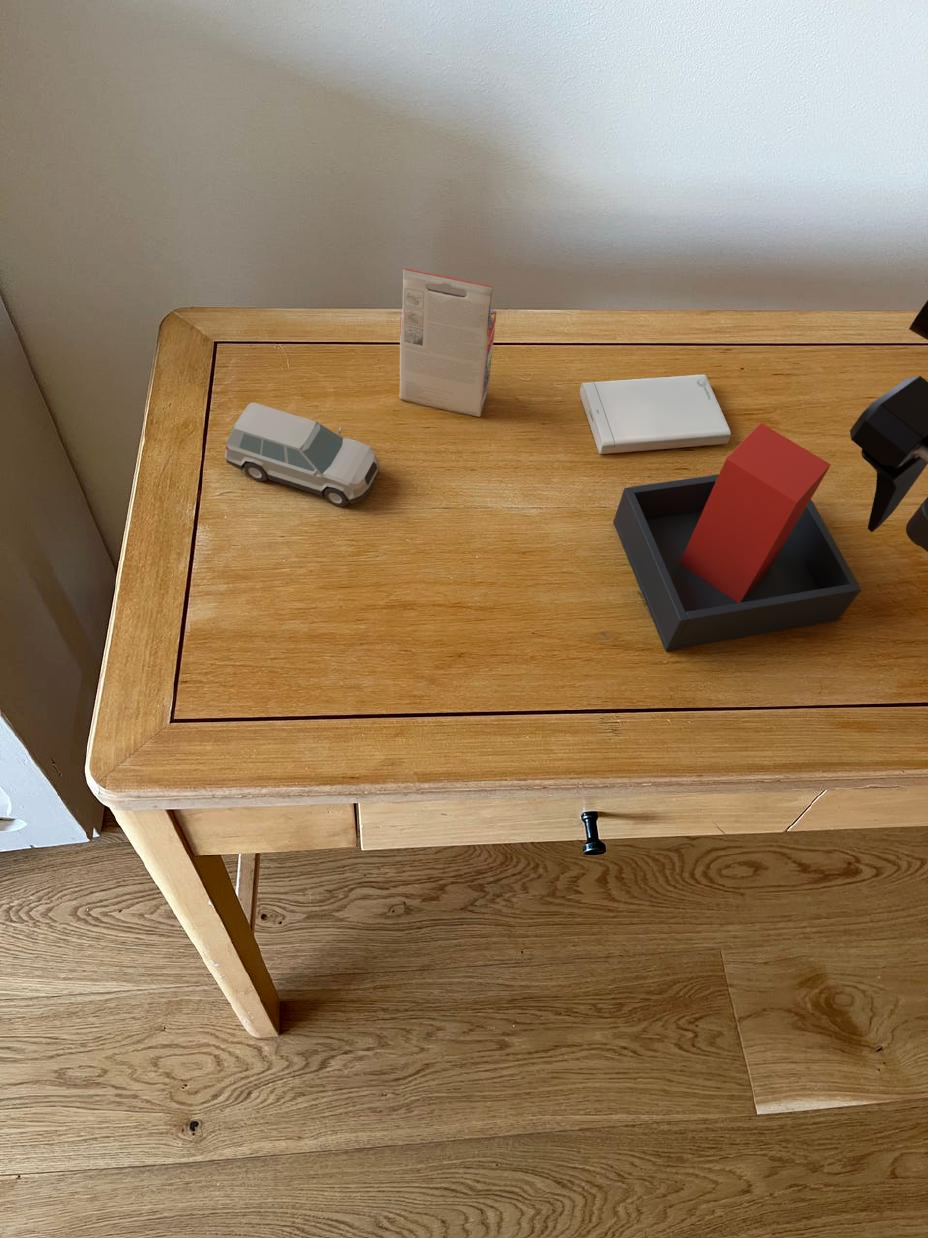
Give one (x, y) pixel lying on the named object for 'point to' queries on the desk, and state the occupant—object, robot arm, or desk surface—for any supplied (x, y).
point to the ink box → (445, 343)
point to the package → (752, 511)
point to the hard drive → (653, 414)
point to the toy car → (301, 455)
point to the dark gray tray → (698, 612)
